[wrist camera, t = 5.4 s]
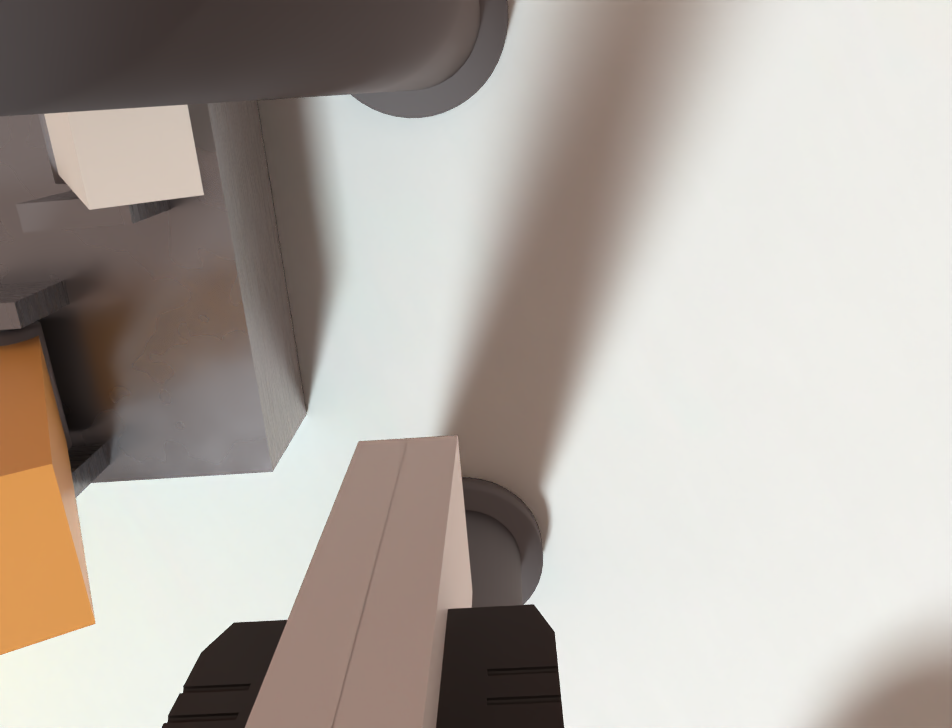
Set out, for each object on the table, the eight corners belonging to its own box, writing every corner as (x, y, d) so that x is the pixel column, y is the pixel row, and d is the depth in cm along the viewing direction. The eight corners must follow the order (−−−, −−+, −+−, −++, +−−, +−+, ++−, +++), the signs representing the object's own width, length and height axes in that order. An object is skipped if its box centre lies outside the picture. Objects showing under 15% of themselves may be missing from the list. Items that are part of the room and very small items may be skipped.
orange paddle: (1, 450, 21) (-8, 669, 12) (-33, 329, 20) (-70, 479, 11) (70, 433, 22) (104, 631, 13) (40, 316, 21) (56, 449, 12)
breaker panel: (-36, 436, 26) (-192, 538, 20) (-160, 29, 22) (-396, 10, 16) (306, 414, 25) (248, 512, 20) (239, -8, 22) (142, -41, 16)
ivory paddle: (53, 181, 19) (84, 227, 10) (17, 30, 18) (18, -58, 9) (127, 173, 19) (214, 208, 11) (97, 26, 18) (165, -58, 10)
